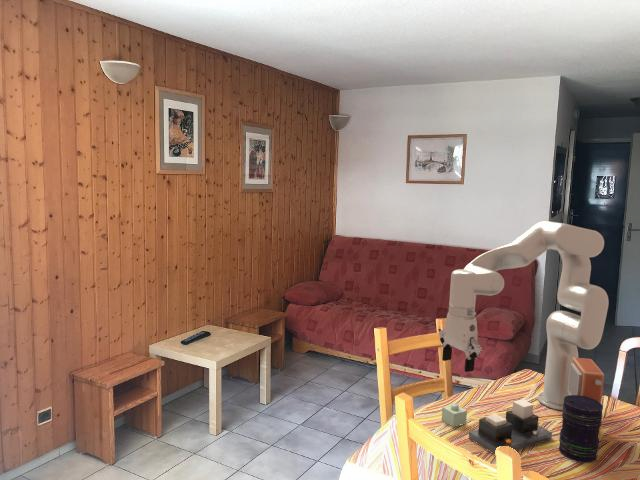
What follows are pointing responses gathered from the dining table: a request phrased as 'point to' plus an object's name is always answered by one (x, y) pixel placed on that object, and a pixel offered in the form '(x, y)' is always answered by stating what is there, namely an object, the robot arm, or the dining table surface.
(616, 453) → the dining table surface
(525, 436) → the breaker board
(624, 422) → the dining table surface
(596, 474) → the dining table surface
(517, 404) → the breaker button
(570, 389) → the orange fan heater
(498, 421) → the tagged breaker button
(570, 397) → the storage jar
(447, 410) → the cap
